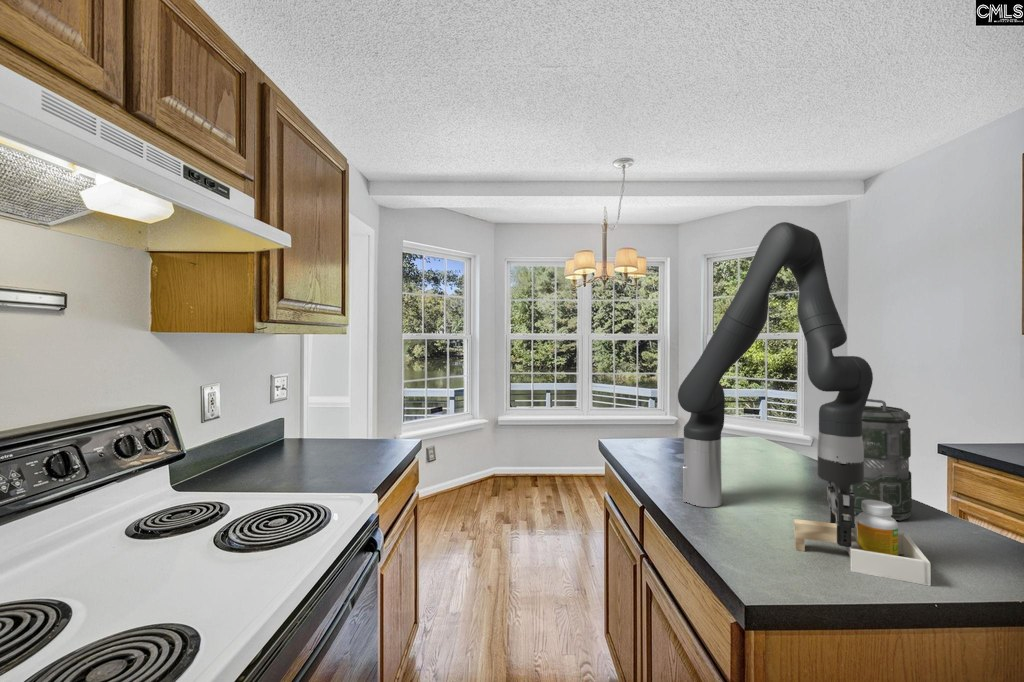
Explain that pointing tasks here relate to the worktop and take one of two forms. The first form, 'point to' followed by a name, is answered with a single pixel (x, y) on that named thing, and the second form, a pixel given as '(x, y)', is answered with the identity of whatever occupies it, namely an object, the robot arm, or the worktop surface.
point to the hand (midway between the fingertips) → (840, 537)
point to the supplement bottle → (877, 528)
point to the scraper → (818, 534)
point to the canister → (885, 460)
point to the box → (893, 562)
